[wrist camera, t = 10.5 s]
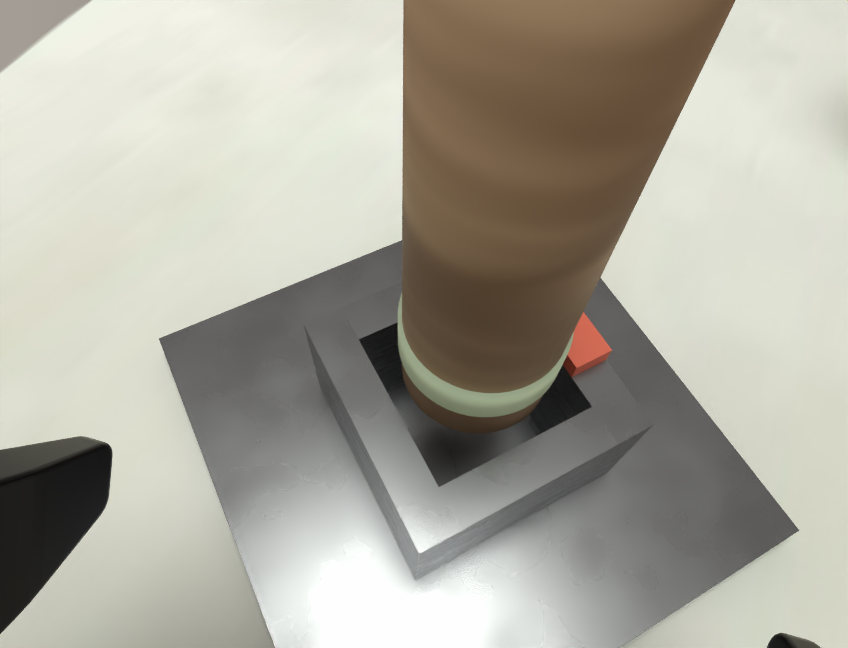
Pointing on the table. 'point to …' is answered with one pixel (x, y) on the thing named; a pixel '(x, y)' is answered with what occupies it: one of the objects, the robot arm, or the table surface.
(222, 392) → the stand
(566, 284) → the post
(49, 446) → the robot arm
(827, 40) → the table surface
